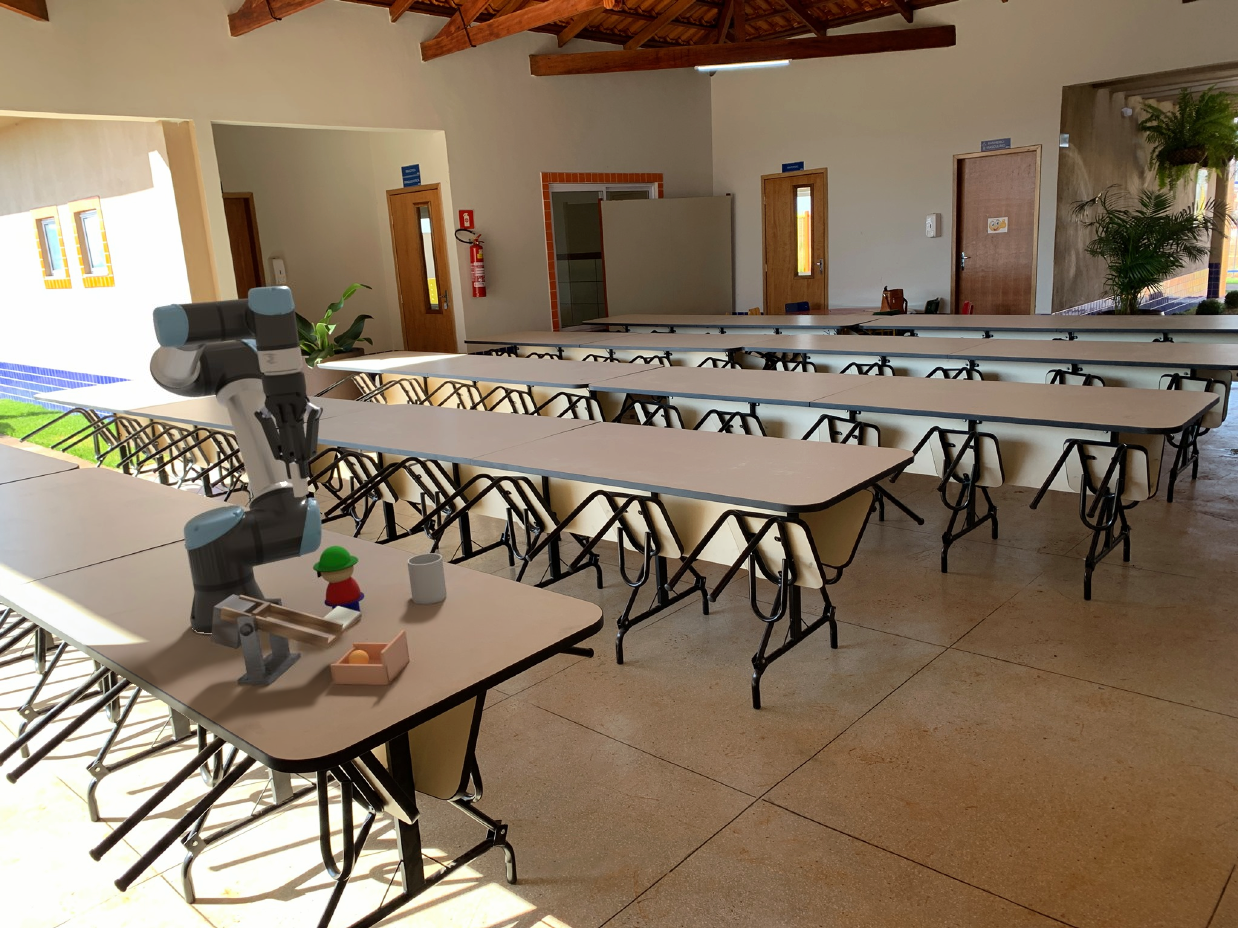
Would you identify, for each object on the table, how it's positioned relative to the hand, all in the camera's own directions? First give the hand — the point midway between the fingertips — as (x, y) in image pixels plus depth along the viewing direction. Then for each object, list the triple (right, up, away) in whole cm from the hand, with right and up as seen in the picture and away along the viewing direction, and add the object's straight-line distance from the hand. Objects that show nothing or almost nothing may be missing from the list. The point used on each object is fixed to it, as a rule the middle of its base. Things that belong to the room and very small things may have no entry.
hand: (301, 494), depth 173 cm
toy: (+4, -26, +15) cm, 30 cm away
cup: (+19, -23, +22) cm, 37 cm away
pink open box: (+17, -31, -12) cm, 37 cm away
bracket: (-3, -31, -8) cm, 33 cm away
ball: (+14, -29, -12) cm, 34 cm away
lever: (-1, -27, -6) cm, 27 cm away
